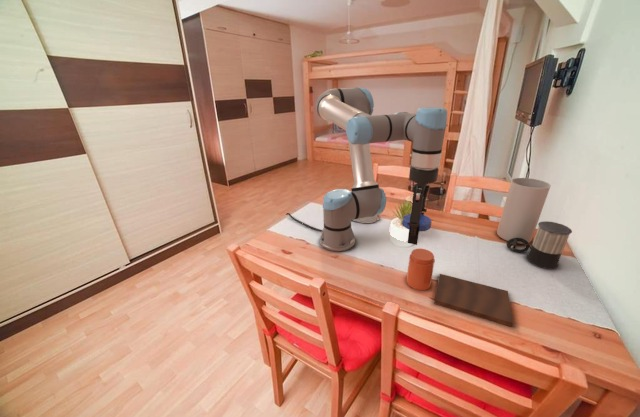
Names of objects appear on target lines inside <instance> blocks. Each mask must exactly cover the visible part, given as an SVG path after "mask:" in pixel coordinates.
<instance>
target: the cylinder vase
mask: <svg viewBox="0 0 640 417" xmlns="http://www.w3.org/2000/svg"><path fill="white" fill-rule="evenodd" d="M550 189H551V184H550V183H549V182H546V181H544V180H540V179H535V178H529V177H514V178H512V179H511V180H510V185H509V187H508V191H507V194H506V198H505V202H504V205H503V209H502V211H501V215H500V219H499V223H498V226H497V229H496V234H497V236H498V237H499V238H500V239H502V240H503V241H506V242H507V241H508V240H510V239H513V238H522V239H525V240H526V241H527V242H528V243H529V244H530V242H532V241H533V237H534V234H535V231H536V229H537V226H538V224H539V220H540V217H541V214H542V212H543V209H544V206H545V203H546V200H547V197H548V195H549V192H550ZM517 244H518V245H525V244H524V243H522V242H519V241H517V243H516V245H517Z"/></svg>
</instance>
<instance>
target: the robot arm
mask: <svg viewBox="0 0 640 417" xmlns="http://www.w3.org/2000/svg"><path fill="white" fill-rule="evenodd" d="M374 107H375V102H374V98H373V95H372V93H371V92H370V91H369V90H368V89H367V88H364V87H349V88H346V87H345V88H344V87H343V88H331V89H327V90H325V91H324V92H322V93H321V94H320V95H319V96H318V98H317V100H316V102H315V111H316V114H317V115H318V116H319V118H321V119H322V120H324V121H325V122H331V123H332V124H334V125H336V126H337V127H339V128H341V129H342V130H344V131H345V133H346V138H347V141H348V148H349V157H350V163H351V171H352V177H353V185H352V186H351V188H350V189H351V190H350V189H347V188H336V189H332V190H330V191H328V192H326V193H325V194H324V196H323V200H322V201H323V202H322V211H323V214H322V215H323V228H322V229H319V228H317V227H313V226H311V225H309V224H307V223H305V222H303V221H301V220H299V219H297V218H296V217H294V216H292V214H291V213H289V212H286V213H285V215H286V216H289V217H290V218H291V219H292V220H294V221H295V222H297V223H299V224H301V225H303V226H305V227H307V228H310V229H312V230H315V231H317V232H321V234H320V238H319V243H320V246H321V247H322V248H323V249H325V250H327V251H330V252H345V251H348V250H350V249H352V248H353V247H354V246H355V244H356V238H355V237H356V236H355V234H354V231H353V229H352V221H353V220H354V219H360V218H365V217H373V216H375V215H377V216H378V215H381V214H382V213H383V212H384V210H385V209H386V206H387V195H386V193H385V191H384V188H381V187H380V186H379V183H378V182H377V181H376V180H375V176H374V169H373V161H372V153H371V146H370V144H377V143H386V142H387V143H388V142H396V141H407V142H411V143H412V148H411V153H410V154H409V158H411V159H410V165H411V166H410V167H409V174H408V179H409V180H410V181H411V182H413V183H415V184H414V186H413V189H412V193H413V194H412V196H413V199H412V201H413V203H412V209H411V216H410V223H407V225H409V226H410V227H409V229H408V235H407V244H411V245H414V246H417V245H418V241H419V235H420V234H419V233H420V231H419V228H420V224H419V223H420V217H421V214H422V215H425V213H427V210H428V209H427V208H426V202H427V197H428V194H429V191H430V185H429V184H433V183H436V182H437V181H438V175H439V170H440V169H439V167H440V166H441V159H442V154H443V145H444V139H445V133H446V129H447V126H448V124H447V121H448V110H447V109H446V108H444V107H434V106H433V107H432V106H429V107H428V106H427V107H419V108H418V109H417V110H416V113H409V112H407V111H404V112H403V111H402V112H394V113H393V114H392V113H391V114H380V115H379V114H377V115H373V113H374Z"/></svg>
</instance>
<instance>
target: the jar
mask: <svg viewBox="0 0 640 417" xmlns="http://www.w3.org/2000/svg"><path fill="white" fill-rule="evenodd" d="M435 261H436V260H435V255H434V253H433V252H432V251H430V250H428V249H426V248H415V249H413V250H412V251H411V252H410V254H409V257H408V266H407V272H406V284H407V285H408V286H409V287H411V288H412V289H414V290H418V291H426V290H428V289H430V287H431V284H432V280H433V273H434V267H435Z"/></svg>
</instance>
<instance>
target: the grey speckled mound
mask: <svg viewBox="0 0 640 417" xmlns="http://www.w3.org/2000/svg"><path fill="white" fill-rule="evenodd" d="M379 220H380V217H379V216H378V215H375V216H373V217H365V218H360V219H354V220H352V221H353V222H358V223H362V224H373V223H376V222H377V221H379Z"/></svg>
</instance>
